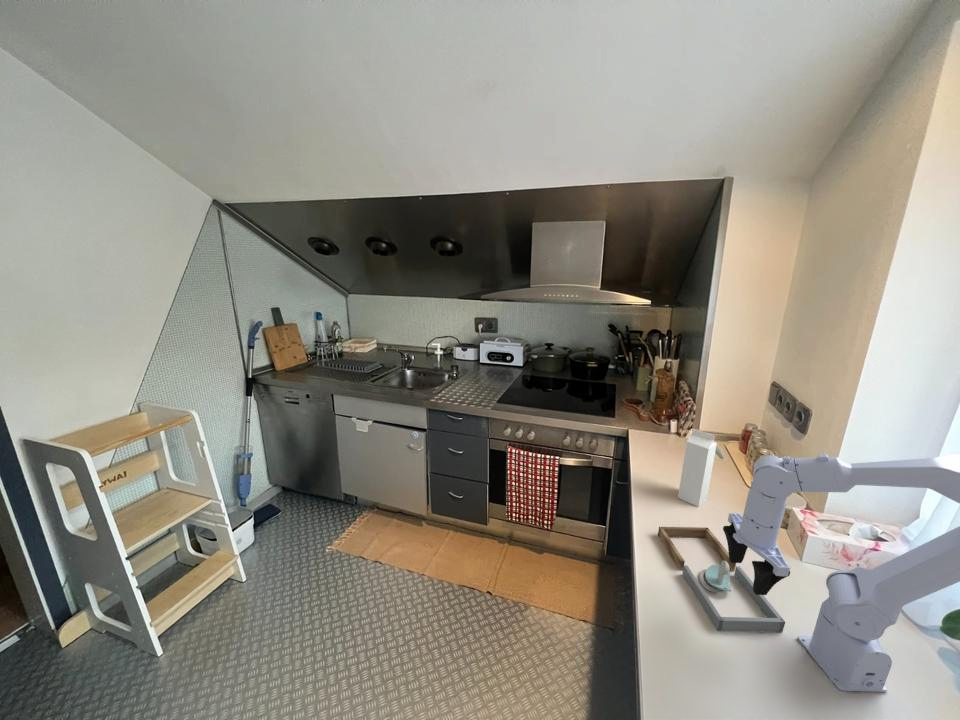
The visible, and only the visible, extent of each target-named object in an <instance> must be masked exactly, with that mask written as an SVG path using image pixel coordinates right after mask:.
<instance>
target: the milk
mask: <svg viewBox="0 0 960 720" xmlns="http://www.w3.org/2000/svg"><path fill="white" fill-rule="evenodd" d="M691 430H692V432H691V434H690V435H689V437H688V438H687V440H686V445H685V451H684V456H683V463H682V470H681V477H680V481H679V488H678V489H679V490H678V495H677V499H679V498H680V500H681V499H682V501H684V502H686V503H689V504H690V505H692V504H693V505H692V506H694V505H695V507H697V508H699V507H701V505H703V503H705V501H706V500H707V499H708V495H709V494H708V493H709V488H710V483H711V479H712V478H711V477H712V472H713V467H714V466H713V465H714V461H715V456H716V450H717V444H718V443H717V442H716V441H715V438H716V436H715V435H714V434H711V433H708V432H705V431H701V430H698V429H696V428H693V429H691ZM707 501H708V500H707Z"/></svg>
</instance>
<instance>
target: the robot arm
mask: <svg viewBox="0 0 960 720" xmlns="http://www.w3.org/2000/svg"><path fill="white" fill-rule="evenodd" d="M752 467H753V474H752V482H751V484H750V489H749V490H748V493H747V497H746V501H745V506H744V510H743V514H740V513H737V512H729V513H728V518H727V522H728V523H729V524H730V525H724V526H723V527H722V530H723V532H724V535H725V538H726V541H727V548H728V550H727V552H728V553H729V560H730V562H731V563H736V564H742V562H743V560H744V559H745V557H746V556H745V555H746V552H747V549H748V548H749V549H750V550H751V551H753V552H754V553H755V554H757V555H758V556H759V557H760V558H762V559H764V560H763V561H762V560H752V561H751V564H752V567H753V572H754V578H753V583H754V584H753V592H754V593H755V594H756V595H764V596H767V594H768V593H769V592H770V591H771V590H772V588H773V587H775V585H776V584H777V583H778V582H780V581H782V580H784V579H786V578H787V577H790V576H791V575H790V574H791V571H790V569H791V567H790V566H789V565H788V563H787V562H786V560H785V558H784V556H783V554H782V552H781V550H780V548H779V546H778V544H777V540H778V537H779V534H780V530H781V526H782V521H783V518H784V515H785V511H786V507H787V498H788V497H791V495H792V494H794V493H848V492H849V491H851V490H852V489H853V488H854V487H855V486H867V487H868V486H870V487H871V486H872V487H874V486H875V487H891V488H893V487H895V488H914V489H915V488H916V489H917V488H918V489H930V490H932V491H934V492H935V493H938V494H940V495H941V496H944V497H946V498H948V499H950V500H952V501H954V502H956V503H957V504H959V505H960V454H957V453H949V454H944V455H940V456H935V457H934V456H933V457H926V458H925V457H924V458H913V459H912V458H911V459H898V460H885V461H869V462H854V463H851V462H847V461H845V460H843V459H841V458H840V457H838V456H828V454H827V453H817V457H795V458H794V457H792V458H791V457H790V455H789V456H788V455H786V456H785V455H784V456H782V457H778V455H771V454H769V455H763V456H761V457H759V458H758V459H757V460H756V461H755V462H753V466H752ZM957 583H960V526H957V527H955V528H953V529H951V530H949V531H947V532H945V533H943V534H941V535H938V536H937V537H935V538H933V539H931V540H929V541H926V542H925V543H923V544H920V545H919V546H917V547H914V548H913V549H910V550H909V551H906V552H904V553H902V554H901V555H899V556H896V557H895V558H892V559H890V560H888V561H886V562H884V563H882V564H880V565H879V566H876V567H874V568H872V569H869V568H864V567H860V566H857V567H855V568H852V569H850V570H837V571H833V572H830V573H829V574H828V575H827V577H826V579H825V584H826V588H827V591H828V595H829V596H828V597H827V598H826V599H825V600H824V601H822V602H821V605H820V608H819V612H818V616H817V619H816V622H815V626H814V629H813V633H812V635H797V641H799V642H800V643H801V644H802V646H803V647H804V648H805V649H806V651H807V652H808V653H809V654H810V656H811V657H812V658H813V659H814V660H815V662H816V663H817V664H818V665H819V666H820V668H821V669H822V671H824V672H825V674H826V675H827V676H828V678H829V679H830V680H831V681H832V683H834V685H835V686H836V687H837V689H839V691H843V692H882V693H885V692H886V693H887V692H888V688H887V687H886V685H885V684H886V681H887V679H888V676H889V673H890V670H891V668H892V665H893V660H892V657H890V655H889V653H888V652H887V651H886V649H884V647H883V645H882V644H881V642H880V638H881V637H882V636H883V635H884V633H885V631H886V629H888V628H889V627H891V626H893V625H896V623H897V621H898V619H899V616H900V614H901V612H902V609H903V607H904V606H906V605H908V604H910V603H913V602H916V601H917V600H920V599H923V598H925V597H927V596H929V595H932V594H933V593H936V592H939V591H941V590H944V589H946V588H948V587H951V586H953V585H955V584H957Z"/></svg>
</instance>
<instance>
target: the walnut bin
mask: <svg viewBox="0 0 960 720" xmlns="http://www.w3.org/2000/svg"><path fill="white" fill-rule="evenodd" d="M657 536H658V538H659V539H660V541H661V543H662V544H663V546H664V548H665V549H666V550H667V552H668V554H669V556H670V557H671V559H672V560H673V562H674V563H675V566H677V568H678V570H679V571H683V568H684V565H685V559H683V557H682V555H681V553H680V551H679V550H678V549H677V547H676V546H675V544H674V543H673V542H672V539H671V538H683V539H684V538H688V539H689V538H690V539H705V541H706V542H707V543H708V544H709V545H710V547H711V548H712V549H713V550H714V552H715V553H716V554H717V555H718V557H719V558H720V559H721V561H722V562H723V561H726V562H727V563H728V564H729V572H735V569H736V565H737V563H731V562H730V560H729V551H728V550H727V549H726V548H725V547H724V546H723V544H722V543H721V542H720V541H719V540H718V539H719V538H717V537H716V536H715V535H714V533H713V532H712V531H711V530H710V529H709V527H700V526H699V527H695V526H694V527H692V526H688V527H686V526H683V527H682V526H681V527H680V526H659V527H658V531H657Z"/></svg>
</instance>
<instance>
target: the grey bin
mask: <svg viewBox="0 0 960 720" xmlns="http://www.w3.org/2000/svg"><path fill="white" fill-rule="evenodd" d="M681 573H682V577H683V578H684V580H685V581H686V583H687V585H688V586H689V588H690V589H691V591H692V592H693V594H694V596H695V598H696V599H697V601H698V602H699V604H700V605H701V607H702V608H703V611H704V612H705V613H706V615H707V617H708V619H710V621H711V623H712V624H713V626H714V628H715V630H716V631H717V632H752V633H753V632H758V633H760V632H761V633H762V632H763V633H764V632H765V633H768V632H769V633H770V632H771V633H783V632H784V627H785V624H786V621H785V620H784V618H783V617H782V616H781V615H780V613H779V612H778V611H777V610H776V609H775V607H774V606H773V605H772V604H771V602H770V601H769V600H768V599H767V598H766V597H765V595H756V594H755V593H754V592H753V584H754V581H752V580H751V579H750V577H749V576H748V575H747V574H746V572H745V571H744V570H743V569H742V567H741V566H738V565H737V566H735V571H734V573H733V574H734V575H733V576H734V577H735V578H736V580H737V581H738V583H740V585H741V587H743V589H744V590H745V591H746V593H747V594H748V596H749V597H750V598H751V599H752V600H753V601H754V603H755V604H756V605H757V607H758V608H759V609H760V610H761V612H762V613H763V614H764V615H765V617H740V616H739V617H738V616H737V617H735V616H732V617H731V616H721V614H720V613H719V611H718V609H717V608H716V607H715V605H714V604H713V603H712V601H711V600H710V597H709V596H708V595H707V593H706V591H705V590H704V588H703V586H702V584H700V583H699V581H698V579H697V578H696V576H695V575H694V574H693V572H692V570H691V568H689V565H687V564H686V565H685V564H684V568H683V570H682V572H681Z"/></svg>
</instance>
